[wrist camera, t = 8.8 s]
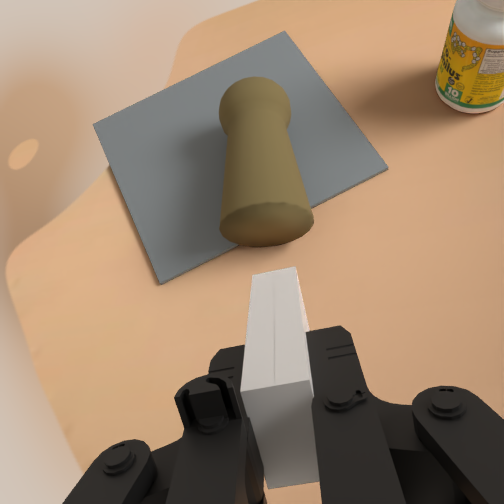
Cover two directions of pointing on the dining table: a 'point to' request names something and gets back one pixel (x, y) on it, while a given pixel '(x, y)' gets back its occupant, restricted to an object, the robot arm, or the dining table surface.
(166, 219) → the mat
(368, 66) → the dining table surface
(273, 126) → the cork
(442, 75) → the supplement bottle
